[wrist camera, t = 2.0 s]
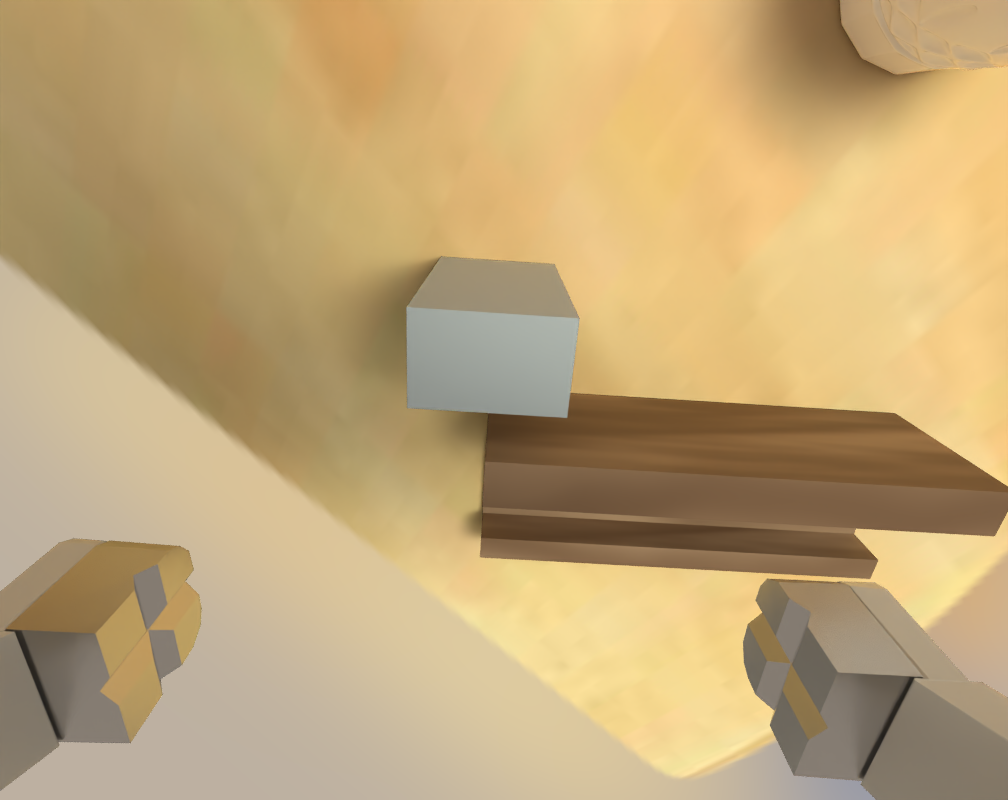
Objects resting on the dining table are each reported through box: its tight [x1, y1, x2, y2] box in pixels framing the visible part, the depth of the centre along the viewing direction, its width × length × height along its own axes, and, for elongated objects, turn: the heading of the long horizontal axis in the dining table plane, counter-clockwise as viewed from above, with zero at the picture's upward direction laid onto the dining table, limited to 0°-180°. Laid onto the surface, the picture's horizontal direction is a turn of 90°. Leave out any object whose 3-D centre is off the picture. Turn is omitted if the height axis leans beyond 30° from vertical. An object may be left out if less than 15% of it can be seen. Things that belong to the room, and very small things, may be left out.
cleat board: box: [480, 393, 1008, 579], centre depth 25 cm, size 8×20×7 cm, turn 86°
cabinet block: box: [406, 257, 580, 418], centre depth 21 cm, size 4×5×9 cm
